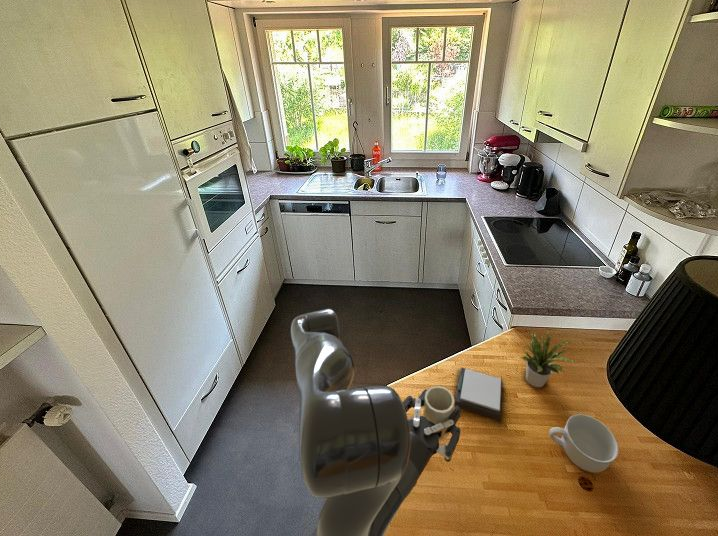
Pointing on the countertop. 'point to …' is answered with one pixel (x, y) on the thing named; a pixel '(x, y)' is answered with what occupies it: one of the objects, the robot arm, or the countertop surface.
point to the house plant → (542, 361)
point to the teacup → (587, 442)
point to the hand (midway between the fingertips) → (443, 399)
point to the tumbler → (438, 405)
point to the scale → (479, 393)
